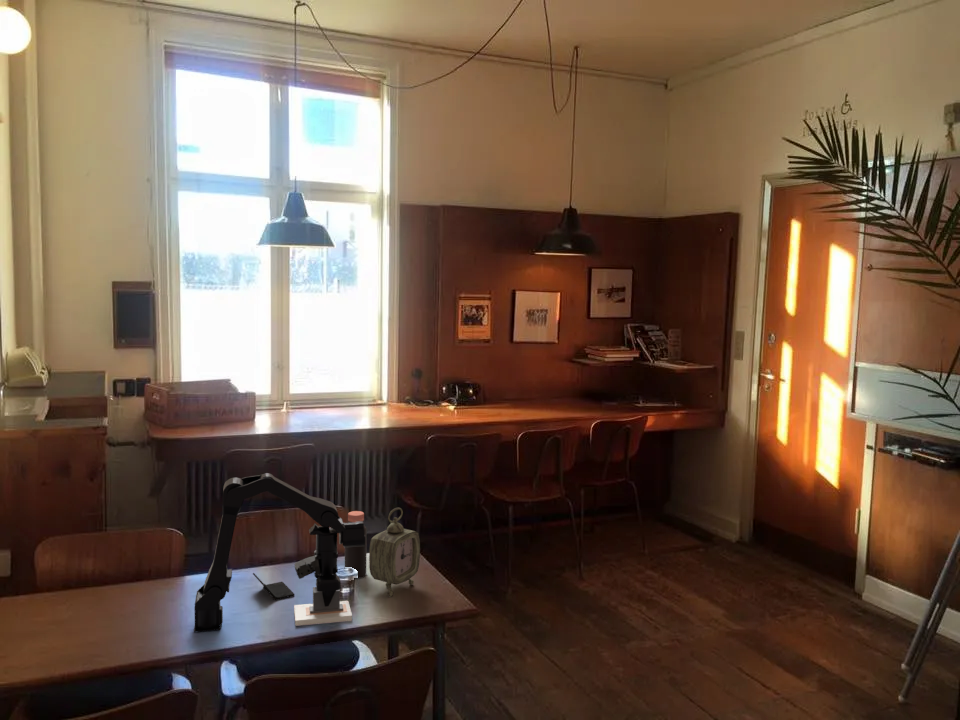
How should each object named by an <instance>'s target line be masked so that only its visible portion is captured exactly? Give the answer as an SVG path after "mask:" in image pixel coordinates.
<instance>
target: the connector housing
mask: <svg viewBox="0 0 960 720" xmlns="http://www.w3.org/2000/svg"><path fill="white" fill-rule="evenodd" d="M340 597H341V589H340V590H336V592H335V594H334V596H333V598H332V600H331V602H330V605H329V606H326V607H325V605H324V600H323V595H322V591H317V588H316V586H314V587H312V604H313V609H314V610H325V609H337V608H340V601H341V600H340V599H341V598H340Z"/></svg>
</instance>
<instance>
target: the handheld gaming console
mask: <svg viewBox="0 0 960 720" xmlns="http://www.w3.org/2000/svg"><path fill="white" fill-rule="evenodd" d="M252 575H253V576H254V577H255V578H256V579H257V580H258V582H260V584H261V585H262V586H263V589H264V590H265V591H266V592H267V593H268V594H269V596H270V597H271V598H272V600H274V601H279V600H284V599H289V598H293V597H295V593H294V592H293V591H292V590H291V589H290V588H289V587H288V586H287V584H286V583H284V582H283V581H279V582H273V583H268V584H266V583H264V582H263V581H262V580H261V579H260V578H259V576H257V574H255V573H254V572H253V573H252Z"/></svg>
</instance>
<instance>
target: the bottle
mask: <svg viewBox="0 0 960 720" xmlns="http://www.w3.org/2000/svg"><path fill="white" fill-rule="evenodd" d="M358 521H362V522H363V523H364V521H365V513H364V512H363V511H360V510H353V511H350V512H348V513H347V523H352V522H358ZM367 529H368V528H367V527H366V526H365V525H364V535H365V546H361V547H346V548H344V568H345V567H352V568H354V569H356V570H357V571H358V579H362V578H364V577H365V576H366V575H367V552H368V551H367V549H368V545H367V543H368V539H367V538H368V537H367V536H368V534H367V533H368V530H367Z"/></svg>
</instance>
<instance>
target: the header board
mask: <svg viewBox="0 0 960 720" xmlns="http://www.w3.org/2000/svg"><path fill="white" fill-rule="evenodd" d="M293 612H294V613H293V614H294V626H295V627H296V626H297V627H298V626H309V625H321V624H330V623H342V622H352V621H353V613H352V610H351V607H350V602H349V600H340V608H337V609H325V610H314V609H313V603H304V604H293Z"/></svg>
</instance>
